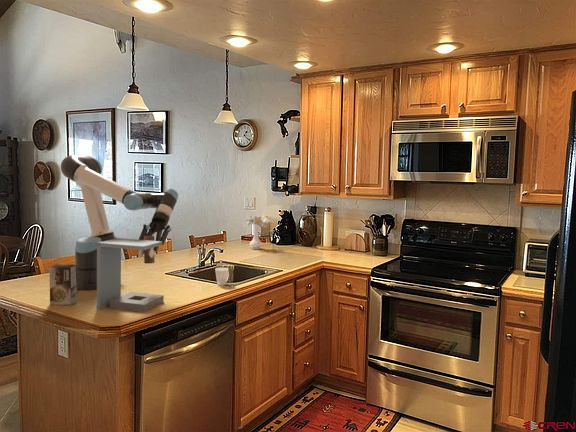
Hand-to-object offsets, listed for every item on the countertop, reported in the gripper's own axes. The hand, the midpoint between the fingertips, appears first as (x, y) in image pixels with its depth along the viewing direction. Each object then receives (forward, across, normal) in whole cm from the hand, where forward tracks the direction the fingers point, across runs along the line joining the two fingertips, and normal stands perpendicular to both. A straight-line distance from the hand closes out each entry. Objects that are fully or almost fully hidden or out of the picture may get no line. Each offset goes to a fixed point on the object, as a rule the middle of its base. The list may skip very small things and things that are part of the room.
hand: (145, 255), depth 212 cm
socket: (+21, -2, -6) cm, 22 cm away
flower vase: (-96, -7, -124) cm, 157 cm away
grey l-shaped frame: (+24, 0, -4) cm, 24 cm away
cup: (-13, -23, -42) cm, 49 cm away
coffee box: (+26, +28, 0) cm, 38 cm away
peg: (0, 0, -5) cm, 5 cm away
